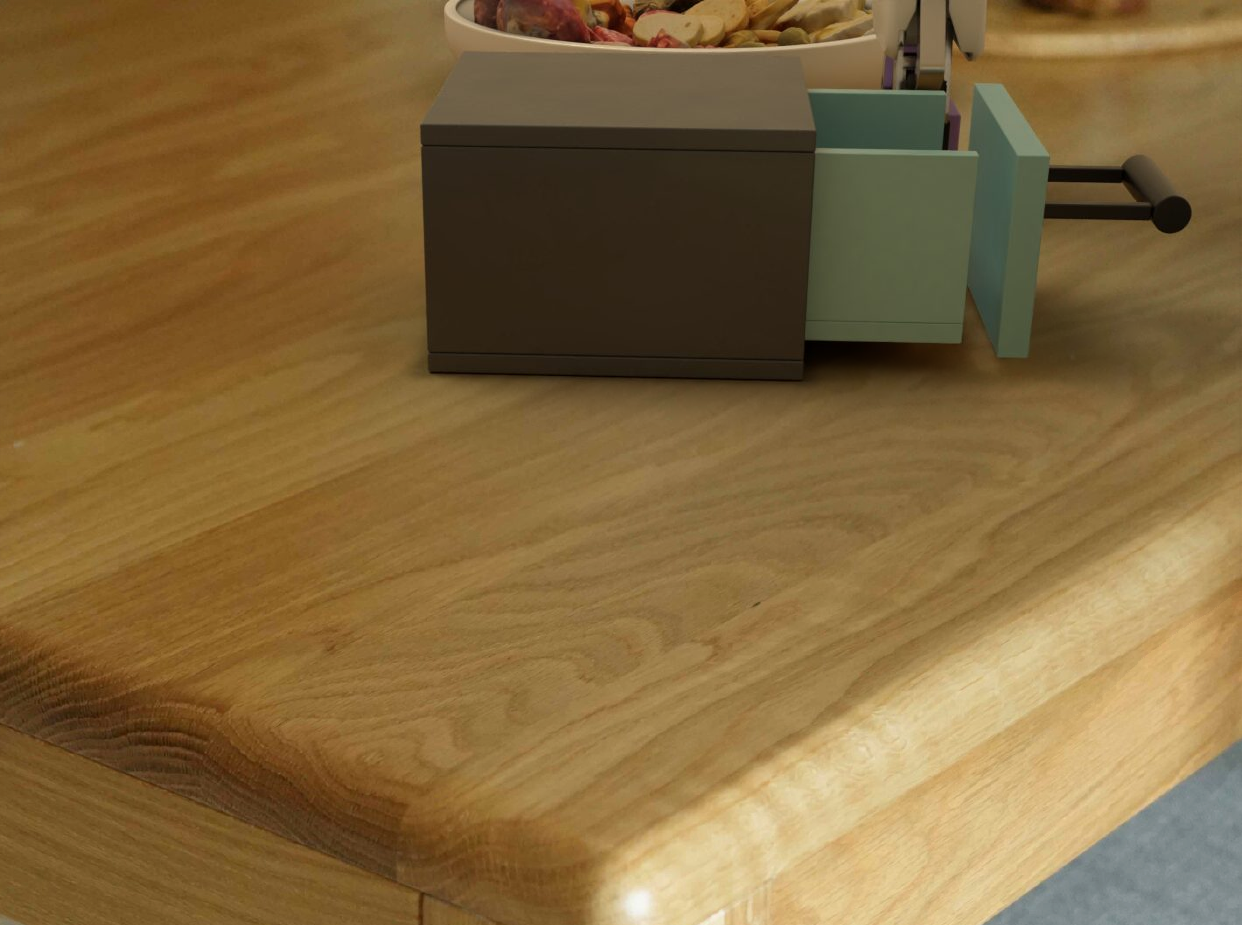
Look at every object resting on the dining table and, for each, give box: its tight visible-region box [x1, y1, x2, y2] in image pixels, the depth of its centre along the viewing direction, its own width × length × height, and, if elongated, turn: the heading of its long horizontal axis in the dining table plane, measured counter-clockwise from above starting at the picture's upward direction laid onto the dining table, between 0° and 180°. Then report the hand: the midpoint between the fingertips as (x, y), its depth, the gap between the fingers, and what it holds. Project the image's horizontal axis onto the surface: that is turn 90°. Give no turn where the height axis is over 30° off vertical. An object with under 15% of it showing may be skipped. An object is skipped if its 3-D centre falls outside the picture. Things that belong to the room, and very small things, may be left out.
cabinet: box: [419, 51, 817, 381], centre depth 82 cm, size 15×15×10 cm
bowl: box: [443, 0, 884, 90], centre depth 126 cm, size 30×30×8 cm
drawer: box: [805, 82, 1193, 359], centre depth 81 cm, size 20×13×8 cm
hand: (906, 184), depth 104 cm, fingers closed on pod, 4 cm apart
